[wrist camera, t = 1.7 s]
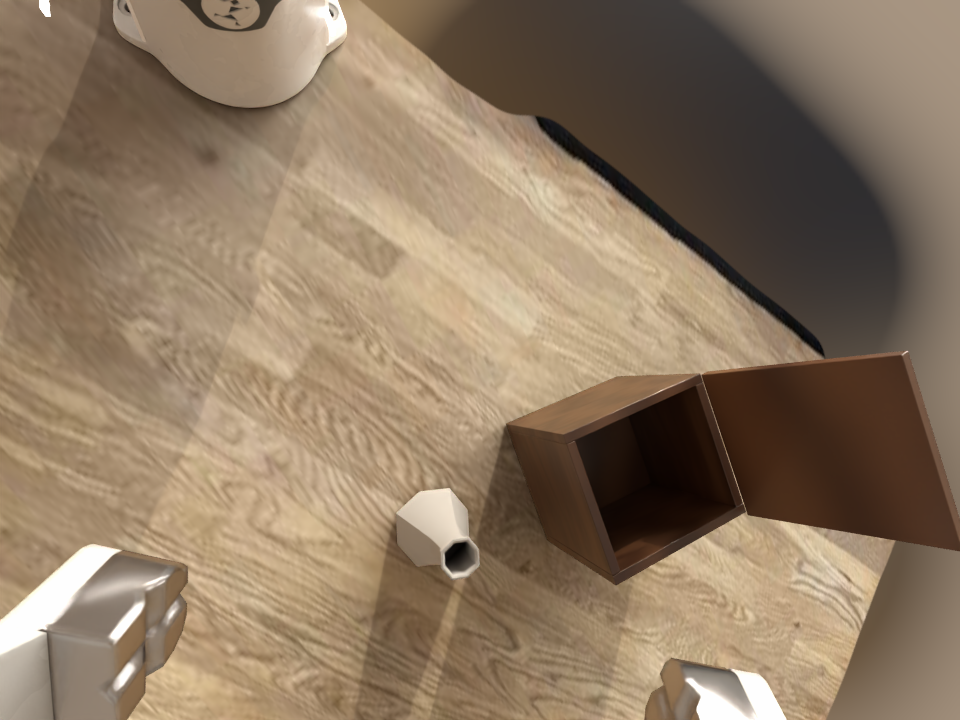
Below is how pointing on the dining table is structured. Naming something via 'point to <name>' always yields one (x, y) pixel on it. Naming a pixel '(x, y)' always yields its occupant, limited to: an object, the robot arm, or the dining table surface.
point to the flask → (437, 533)
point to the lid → (837, 447)
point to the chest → (627, 471)
